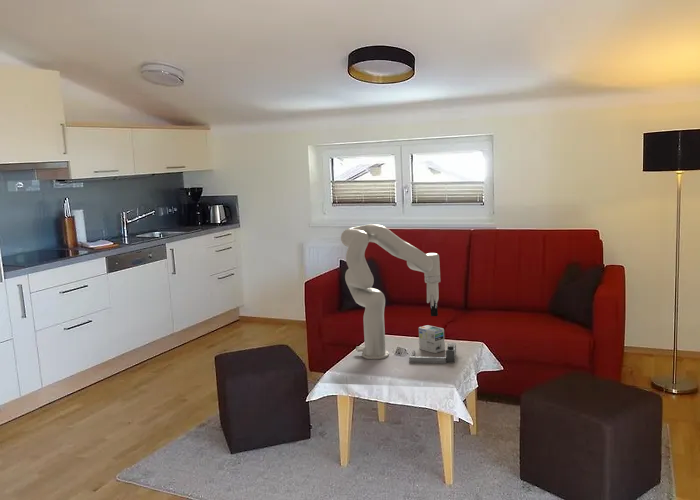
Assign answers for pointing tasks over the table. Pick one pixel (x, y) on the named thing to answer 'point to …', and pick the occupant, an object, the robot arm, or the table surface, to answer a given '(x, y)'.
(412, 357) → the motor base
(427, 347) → the light bulb box
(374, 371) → the table surface
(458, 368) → the table surface
